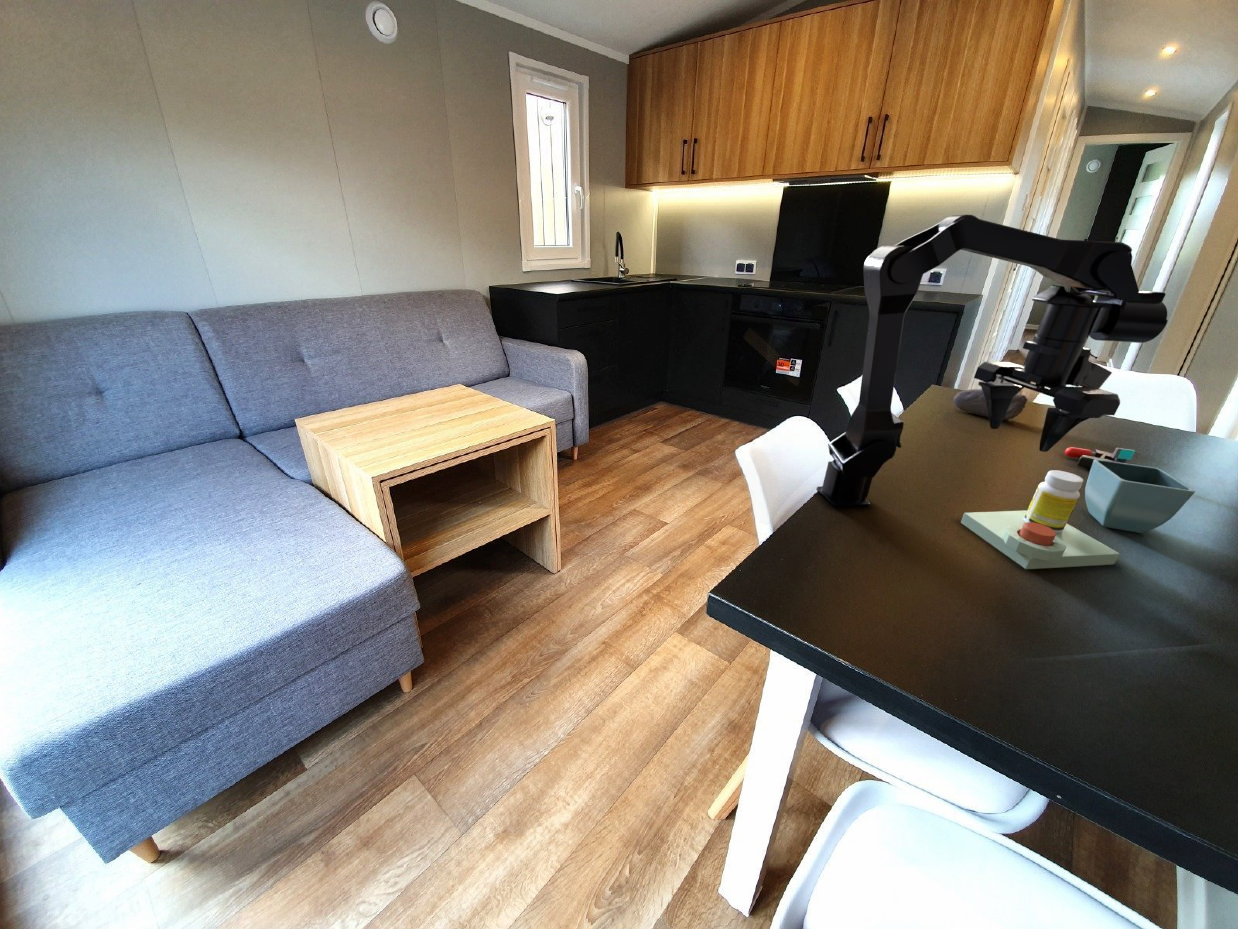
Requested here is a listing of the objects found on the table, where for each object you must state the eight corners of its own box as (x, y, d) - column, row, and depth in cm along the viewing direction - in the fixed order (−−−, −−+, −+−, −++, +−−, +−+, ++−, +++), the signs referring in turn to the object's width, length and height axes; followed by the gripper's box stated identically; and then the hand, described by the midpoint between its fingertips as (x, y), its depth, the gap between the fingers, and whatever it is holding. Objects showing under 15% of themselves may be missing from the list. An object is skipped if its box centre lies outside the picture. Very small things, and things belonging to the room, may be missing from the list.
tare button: (1034, 547, 66) (1039, 536, 65) (1012, 532, 69) (1017, 522, 69) (1058, 546, 67) (1063, 535, 66) (1034, 531, 70) (1039, 521, 69)
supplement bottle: (1069, 536, 71) (1095, 485, 68) (1033, 531, 72) (1057, 481, 69) (1050, 519, 76) (1074, 470, 72) (1016, 515, 77) (1038, 467, 73)
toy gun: (1129, 463, 102) (1140, 442, 99) (1119, 479, 94) (1131, 456, 92) (1069, 448, 108) (1079, 428, 106) (1057, 462, 101) (1066, 440, 99)
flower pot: (1132, 515, 82) (1159, 467, 78) (1166, 543, 74) (1198, 491, 70) (1069, 505, 84) (1092, 458, 80) (1095, 531, 76) (1122, 480, 73)
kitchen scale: (1025, 573, 66) (1035, 552, 65) (955, 523, 78) (963, 503, 76) (1119, 568, 68) (1131, 547, 66) (1038, 519, 79) (1046, 500, 78)
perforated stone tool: (947, 410, 130) (956, 385, 127) (952, 406, 134) (961, 381, 131) (1016, 425, 121) (1027, 398, 118) (1019, 420, 124) (1030, 394, 121)
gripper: (1183, 354, 62) (1124, 464, 69) (1052, 327, 79) (1014, 419, 85) (1106, 352, 61) (1053, 465, 68) (989, 326, 78) (956, 418, 84)
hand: (1017, 439), depth 76 cm, fingers open, 9 cm apart
